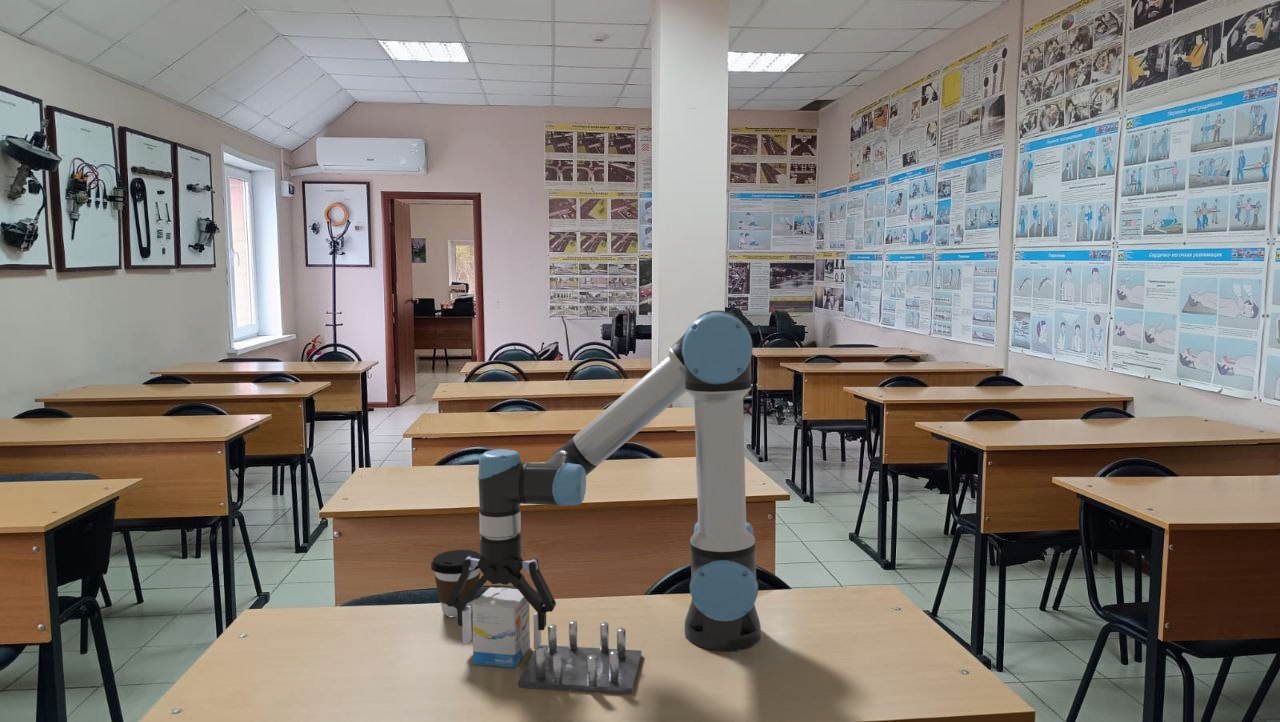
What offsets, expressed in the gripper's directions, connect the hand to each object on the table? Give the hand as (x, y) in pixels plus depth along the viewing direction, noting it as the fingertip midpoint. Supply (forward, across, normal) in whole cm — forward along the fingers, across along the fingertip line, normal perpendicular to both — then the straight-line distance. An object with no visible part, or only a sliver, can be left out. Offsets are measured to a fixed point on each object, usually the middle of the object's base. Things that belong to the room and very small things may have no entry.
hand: (502, 643), depth 147 cm
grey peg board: (+2, -16, +4) cm, 17 cm away
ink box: (+2, 0, 0) cm, 2 cm away
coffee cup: (+2, +15, -18) cm, 24 cm away
